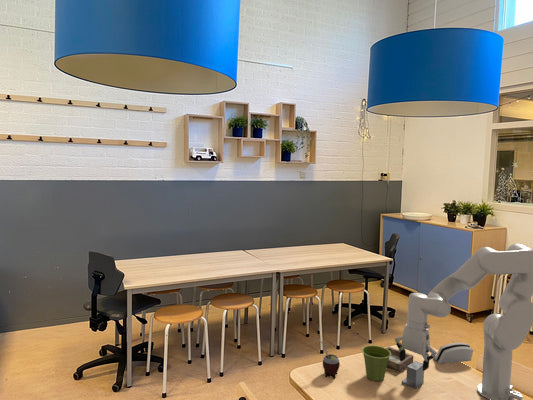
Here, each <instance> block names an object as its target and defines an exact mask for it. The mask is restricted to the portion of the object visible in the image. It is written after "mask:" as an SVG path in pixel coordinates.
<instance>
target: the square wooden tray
mask: <svg viewBox="0 0 533 400" xmlns="http://www.w3.org/2000/svg"><path fill="white" fill-rule="evenodd" d="M385 348H386V349H388V350H389V351H390V352H391V356H390V357H389V360H388V363H387V368H386V369H390V370H392V371H394V372H397V373H401V372H403V371H404V370H406V369H407V366H408V365H410V364H411V363H413V362H414V355H413V354H410V353H407V352H406V354H405V360H403V361H400V351H399V349H397V348H394V347H391V346H386V347H385Z"/></svg>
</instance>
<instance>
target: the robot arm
mask: <svg viewBox="0 0 533 400" xmlns="http://www.w3.org/2000/svg"><path fill="white" fill-rule="evenodd" d="M488 275H497V276H499V275H500V276H501V275H502V276H503V275H511V276H510V279H509V280H508V283H507V285H506V287H505V289H503V292H502V294H501V296H500V297H499V300H498V306H499V308H500V309H501V310H502V312H503V313H504V314H501V313H491V314H489V315H487V317H486V318H484V321H483V343H484V344H483V360H482V378H481V379H482V380H481V383H479V384H478V385H477V388H476V389H477V392H479V393H478V394H479V395H480V394H481V395H482V397H483V396H484V397H486V398H488V399H491V400H523V399H524V396H523V395H522V392H520V391H517V390H514V389H513V386H514V385H511V382H512V381H511V380H512V365H513V363H512V362H513V351H514V350H516V349H518V348H519V347H520V346H521V345H522V344H523V342H524V340H525V339H526V337H527V335H528V333H529V332H530V330H531V329H532V326H533V302H532V301H531V299H532V297H533V248H531V247H529V246H527V245H525V244H522V243H513V244H511V245H510V246H508V248H507V250H505V251H504V250H502V251H501V250H500V251H499V250H496V249H494V248H492V247H489V246H482V247H481V248H479V249H478V250H476V251H475V252H474V253H473V254H472V255H471V256H470V257H469V258H468V259H467V260H466V261H465V262H464V263H463V264H462V265H460V267H459V268H458V269H457V270H456V271H455V272H453V273H451V274H450V275H448V276H447V277H445V278H444V279H442V280H441V281H439V282H438V283H437V284H436V285H435V286H434V287H433V288H432V289H431V290H430V291H429V293H428V294H425V293H422V292H411V293H410V294H409V296H408V303H407V304H408V305H407V317H406V324H405V325H404V328H403V331H402V332H403V333H402V336H397V337H395V338H394V341H395V345H396V348H398V350H399V351H400V361H403V360H405V354H406V353H407V351H406V350H408V351H410V352H412V353H414V354H417V355H420V356H421V357H422V358H423V361H422V364H423V370H424V372H425V371H426V370H427V369H429V367H430V361H431V360H434V359H433V358H434V357H435V356H436V355H437V353H438V352H437V351H436V350H435V349H434V348H432V347H431V344H430V343H431V341H430V340H431V339H430V328H431V325H430V324H428V316H433V317H436V318H446V317H448V316H449V315H450V313H451V311H452V309H451V304H450V303H449V301H450V300H451V298H452V297H453V296H455V295H456V294H458V293H459V292H461V291H464V290H472V289H474V288H475V287H476V286H478V284H480V283H481V281H483V280H484V279H485V278H486V277H487V276H488ZM429 352H430V353H431V354H429ZM481 395H480V396H481ZM484 397H483V398H484ZM486 398H485V399H486ZM488 399H487V400H488Z"/></svg>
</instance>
